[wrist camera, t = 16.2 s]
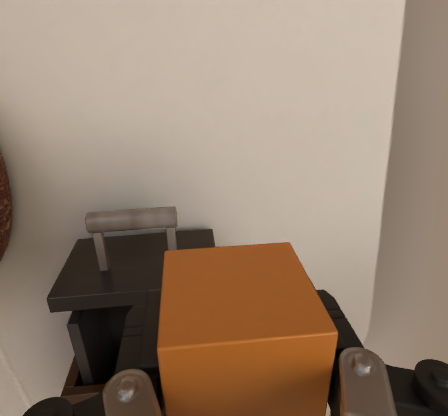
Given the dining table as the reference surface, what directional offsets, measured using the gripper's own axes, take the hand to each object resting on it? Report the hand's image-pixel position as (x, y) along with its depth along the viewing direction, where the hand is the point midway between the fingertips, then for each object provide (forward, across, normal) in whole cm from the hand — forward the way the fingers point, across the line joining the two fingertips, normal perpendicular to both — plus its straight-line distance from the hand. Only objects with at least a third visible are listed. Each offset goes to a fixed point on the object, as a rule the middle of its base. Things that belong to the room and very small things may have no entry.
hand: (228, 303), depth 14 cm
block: (0, 0, 0) cm, 0 cm away
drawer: (+17, +5, +10) cm, 20 cm away
